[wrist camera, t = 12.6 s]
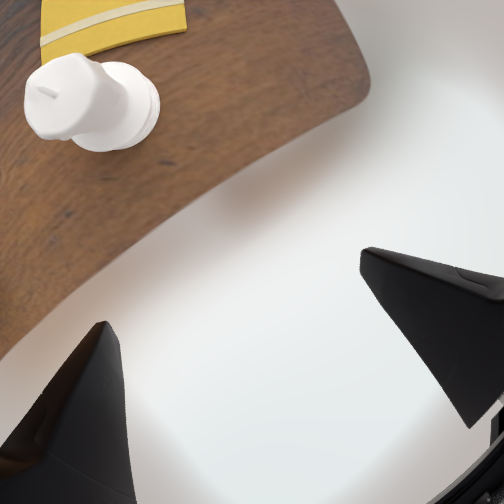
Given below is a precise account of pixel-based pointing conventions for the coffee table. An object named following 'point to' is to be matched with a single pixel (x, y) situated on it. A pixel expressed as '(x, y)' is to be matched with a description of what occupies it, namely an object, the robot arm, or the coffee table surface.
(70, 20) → the towel
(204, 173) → the coffee table surface
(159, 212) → the coffee table surface
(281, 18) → the coffee table surface
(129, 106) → the candle
